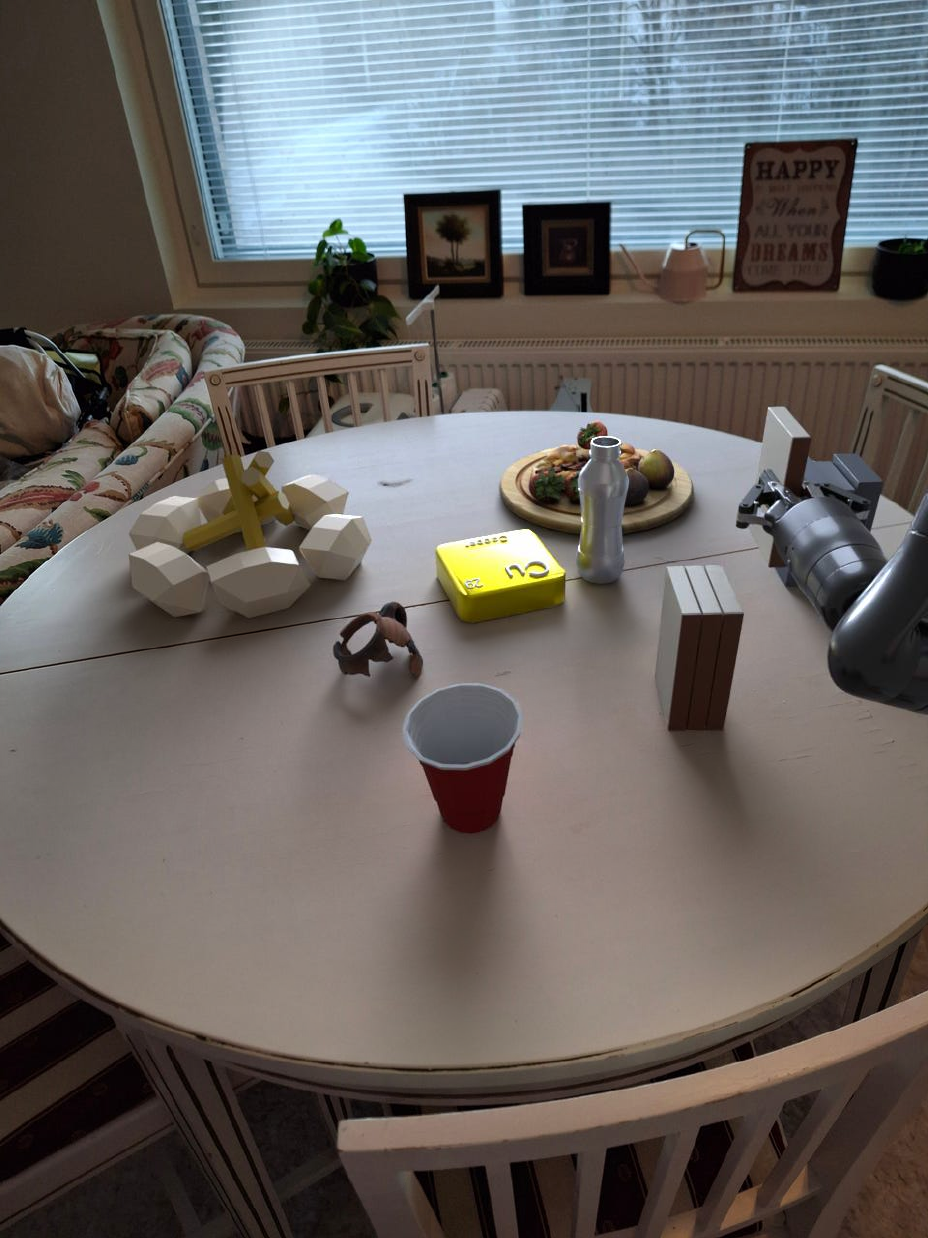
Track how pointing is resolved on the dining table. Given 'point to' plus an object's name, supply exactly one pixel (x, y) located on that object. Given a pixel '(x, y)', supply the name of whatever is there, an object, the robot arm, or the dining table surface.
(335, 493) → the campfire
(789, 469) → the cream book
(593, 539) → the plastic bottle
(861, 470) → the grey books
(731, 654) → the white books
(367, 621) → the brown looped sculpture
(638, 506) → the wooden plate
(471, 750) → the plastic cup
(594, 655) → the dining table surface
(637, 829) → the dining table surface
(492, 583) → the element tile
